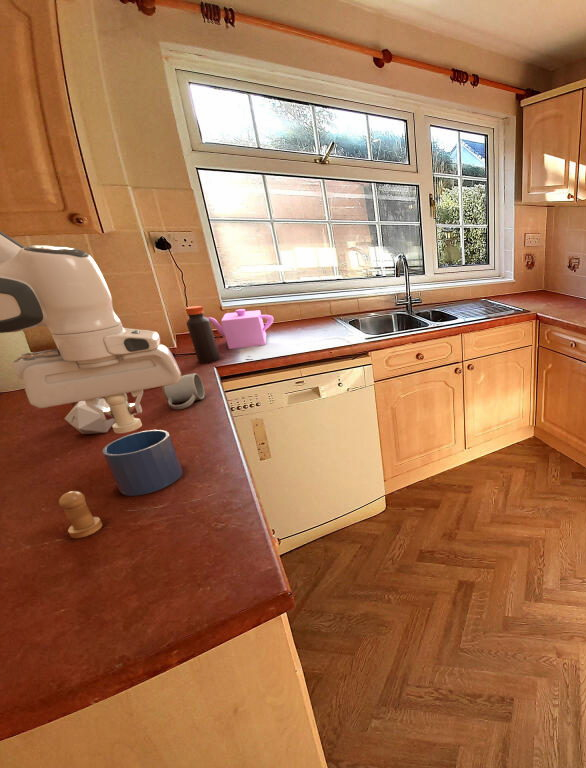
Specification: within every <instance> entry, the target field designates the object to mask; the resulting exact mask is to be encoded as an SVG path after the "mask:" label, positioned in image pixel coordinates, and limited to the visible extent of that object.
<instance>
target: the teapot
mask: <svg viewBox="0 0 586 768" xmlns="http://www.w3.org/2000/svg"><path fill="white" fill-rule="evenodd" d="M234 311H235V312H226V313H224V315H223V316H222V318H221V320H220V322H221V324H220V322H219V321H218V320H217V319H216V318H214V317H211V316H208V317H207V316H205V317H206V318H207V319H209V321H210V324H212V325H213V327H214V328H215V330H216V331H217V332H218V333H219V334H220V335H221V336H222V337H225V340H226V344H227V346H228V350H232V349H240V348H248V347H249V348H250V347H255V346H263V345H266V342H267V341H266V340H267V333H266V330H267V329H269V328H270V327H271V325H272V324H273V323H274V320H275V317H274V316H273V315H271V314H270V315H269V314H262V312H261V310H260V309H259V310H247V311H246V309H245V308H239V309H235V310H234ZM263 319H266V320H267V321H266V323H264V321H263ZM264 324H265V325H264Z"/></svg>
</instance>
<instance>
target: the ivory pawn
mask: <svg viewBox="0 0 586 768" xmlns="http://www.w3.org/2000/svg"><path fill="white" fill-rule="evenodd" d="M105 401H106V403H107V404H109V407H110V410H111V412H112V414H113V417H114V419H115V422H114V423H113V425H112V426H111V428H112V430H113V432H114V433H115V434H127V433H131V432H133V431H136V430H138V429H139V428H141V427H143V423H142V421H141V419H140V418H138V417H135V416H134V415H131V413H130V412H131V411H130V410H129V408H128V406H129V404H130V403H129V401H128V395H127V393H123V394H117V395H112V396H107V397H105Z"/></svg>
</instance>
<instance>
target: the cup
mask: <svg viewBox="0 0 586 768" xmlns="http://www.w3.org/2000/svg"><path fill="white" fill-rule="evenodd" d="M101 453H102V455H103V458H104V459H105V460H104V461H106V464H107V467H108V468H109V471H110V473H111V475H112V478H113V480H114V482H115V484H116V487H117V489H118V490H119V493H120V494H121V495H123V496H127V497H136V496H142V495H148V494H152V493H154V492H157V491H160V490H162V489H164V488H167V487H169V486H171V485H172V484H174V483H175V482H176V481H178V480H179V479H180V478H181V477H182V475H183V474H184V473H183V467H182V465H181V462H180V459H179V457H178V454H177V451H176V449H175V445H174V442H173V439H172V437H171V435H170V432H169V431H168V430H163V429H147V430H143V431H138V432H134V433H131V434H127V435H124V436H122V437H119V438H117V439H115V440H113V441H111V442H110V443H108V444H106V445H105V446H104V447H103V448H102V451H101Z"/></svg>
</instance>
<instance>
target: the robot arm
mask: <svg viewBox="0 0 586 768" xmlns="http://www.w3.org/2000/svg"><path fill="white" fill-rule="evenodd" d="M103 275H104V274H103V273H102V271H101V269H100V268H99V266H98V264H97V262H96V261H95V260H94V259H93V257H92V256H91V255H90V254H89V253H87V252H86V251H83V250H81V249H79V248H75V247H71V246H64V245H63V246H62V245H48V244H47V245H46V244H45V245H44V244H42V245H40V244H39V245H37V244H36V245H28V246H25V245H23V244H21V243H20V242H19V241H17V240H15V239H14V238H12V237H11V236H9V235H7V234H6V233H4V231H1V230H0V334H5V333H8V334H9V333H18V332H23V331H27V330H29V329H30V330H31V329H33V328H38V327H46V328H47V329H48V330H49V332H50V334H51V336H52V339H53V341H54V343H55V345H56V348H53V349H47V350H42V351H38V352H37V351H36V352H25V353H21V355H20V356H18V357H16V358H15V359H14V360H13V362H12V368H13V370H14V373H15V374H16V376H17V377H18V378H19V379H20V380H22V381H23V387H24V391H25V394H26V397H27V400H28V402H29V404H30V405H31V406H33V407H35V408H37V409H47V408H52V407H58V406H62V405H63V406H64V405H69V404H71V403H74V402H79V401H85V402H86V404H87V406H88V407H90V408H91V409H93V410H95V411H96V412H98V413H100V415H101V418H102V420H103V421H106V420H110V419H114V417H113V414H112V412H111V410H110V408H105V407H103V406H102V405H100V404H99V403H98V401H99V398H101V397H107V396H112V395H117V394H123V393H125V394H128V393H130V394H131V396H132V398H135V401H134V402H132V403H128V404H129V406H128V408H129V410H130V411H131V412H130V413H131V415H133V416H134V415H140V414H142V413H143V408H142V405H141V401H142V398H143V395H144V390H149V389H155V388H160V387H161V388H162V386H166V385H171V384H176V383H178V382H179V380H180V379H181V376H182V372H181V369H180V367H179V365H178V362H177V360H176V358H175V357H174V355H173V353H172V351H171V350H170V349H169V348H168V347H167V346H166V345H164V344H162V343H161V336H160V334H159V333H158V332H157V331H155V330H149V329H137V328H129V327H124V325H123V323H122V321H121V319H120V317H119V316H118V315H117V314H116V312H115V310H114V307H113V297H112V294H111V291H110V289H109V286H108V284H107V281H106V280H105V277H104V276H103Z"/></svg>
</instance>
